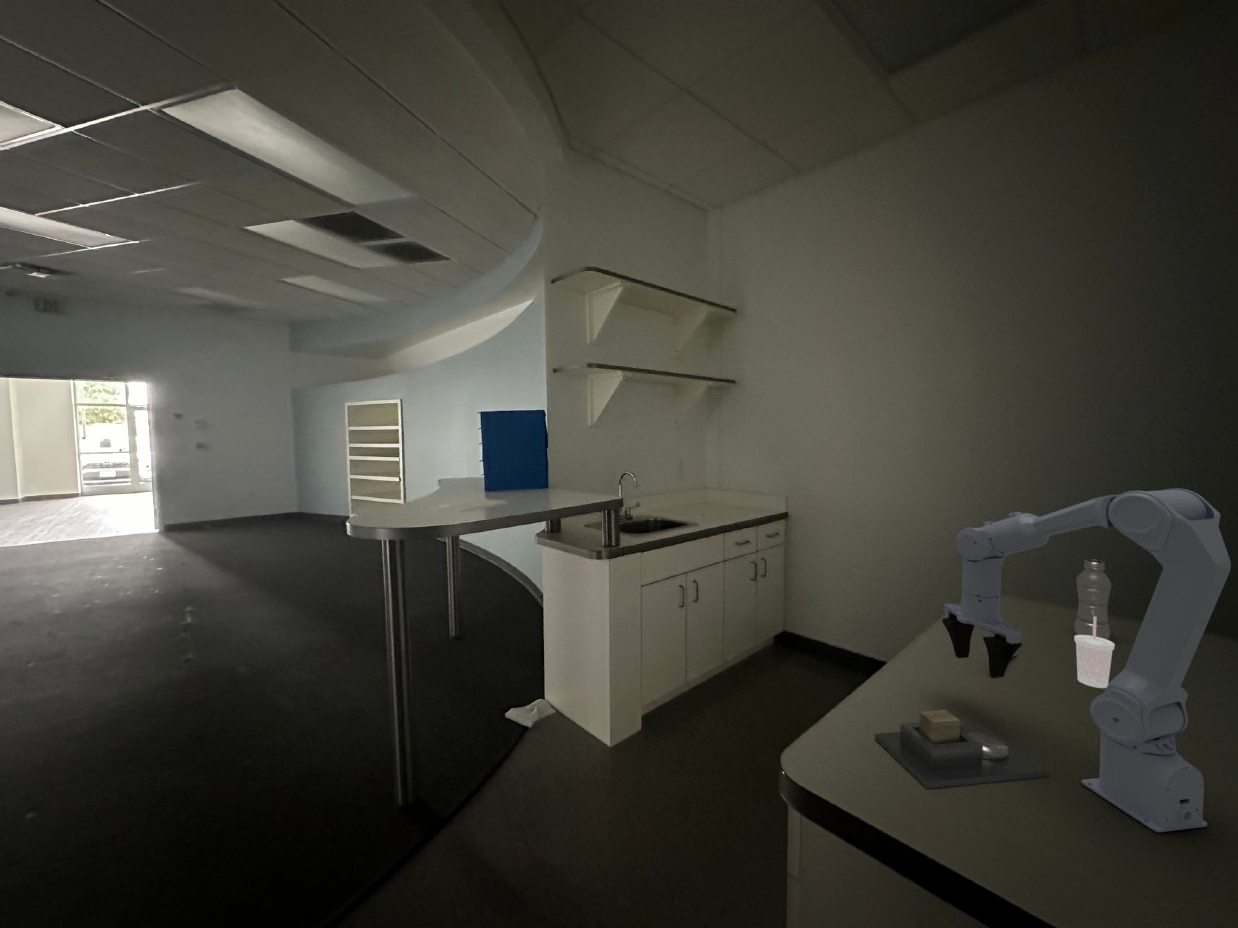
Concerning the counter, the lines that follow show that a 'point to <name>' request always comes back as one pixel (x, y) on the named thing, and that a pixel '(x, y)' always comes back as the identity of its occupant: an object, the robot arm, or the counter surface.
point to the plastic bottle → (1093, 600)
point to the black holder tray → (959, 757)
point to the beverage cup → (1093, 659)
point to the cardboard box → (939, 727)
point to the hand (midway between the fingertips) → (978, 666)
